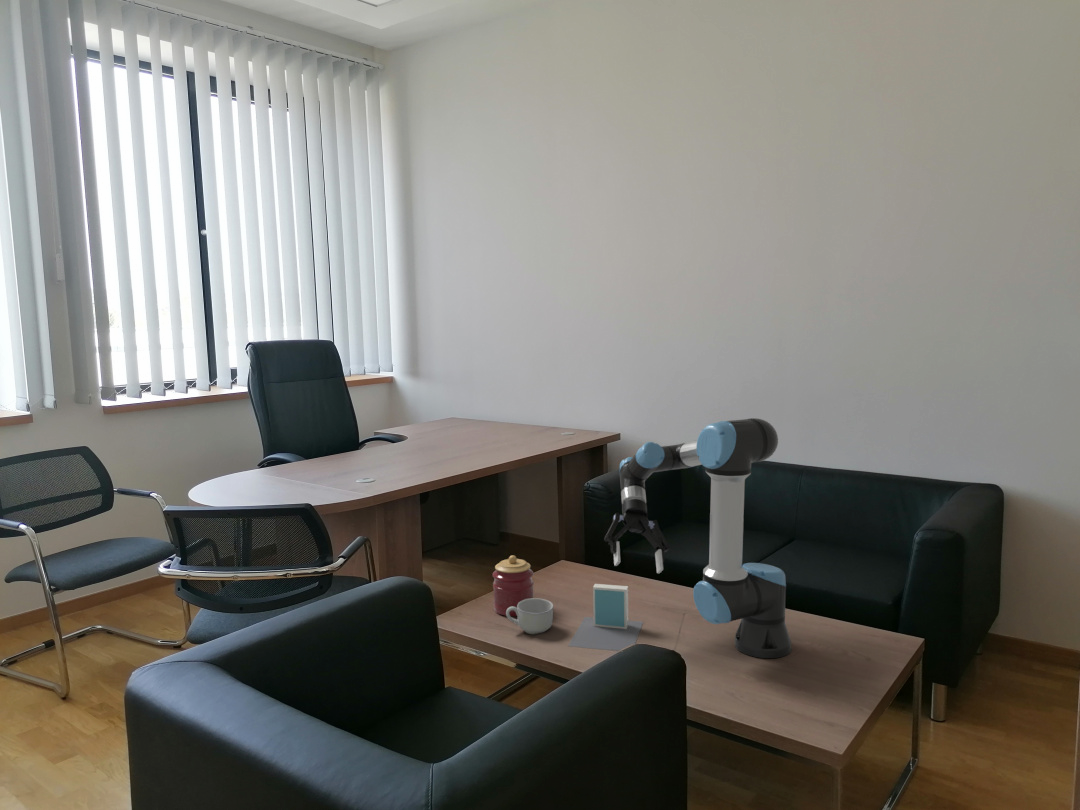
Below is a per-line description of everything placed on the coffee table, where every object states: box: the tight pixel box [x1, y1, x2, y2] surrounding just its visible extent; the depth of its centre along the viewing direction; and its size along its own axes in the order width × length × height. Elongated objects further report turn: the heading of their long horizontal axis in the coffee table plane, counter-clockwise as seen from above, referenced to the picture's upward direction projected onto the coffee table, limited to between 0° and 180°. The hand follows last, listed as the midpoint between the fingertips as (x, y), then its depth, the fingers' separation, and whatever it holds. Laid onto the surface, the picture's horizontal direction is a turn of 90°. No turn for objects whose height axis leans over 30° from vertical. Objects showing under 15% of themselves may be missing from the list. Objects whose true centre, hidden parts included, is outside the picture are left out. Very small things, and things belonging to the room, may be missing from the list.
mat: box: [567, 616, 644, 652], centre depth 230 cm, size 22×18×1 cm
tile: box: [592, 583, 629, 629], centre depth 235 cm, size 3×10×12 cm, turn 74°
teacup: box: [505, 597, 554, 635], centre depth 234 cm, size 14×11×8 cm
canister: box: [492, 555, 534, 617], centre depth 251 cm, size 13×13×18 cm
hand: (638, 567), depth 228 cm, fingers open, 13 cm apart
